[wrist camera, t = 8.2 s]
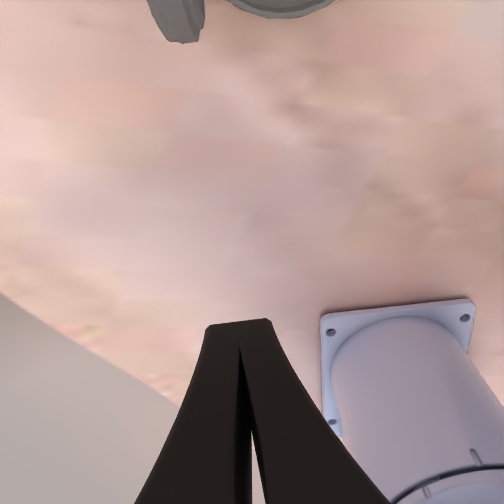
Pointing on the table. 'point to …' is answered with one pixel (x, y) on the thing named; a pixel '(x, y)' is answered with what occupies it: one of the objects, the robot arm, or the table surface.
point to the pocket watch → (260, 3)
